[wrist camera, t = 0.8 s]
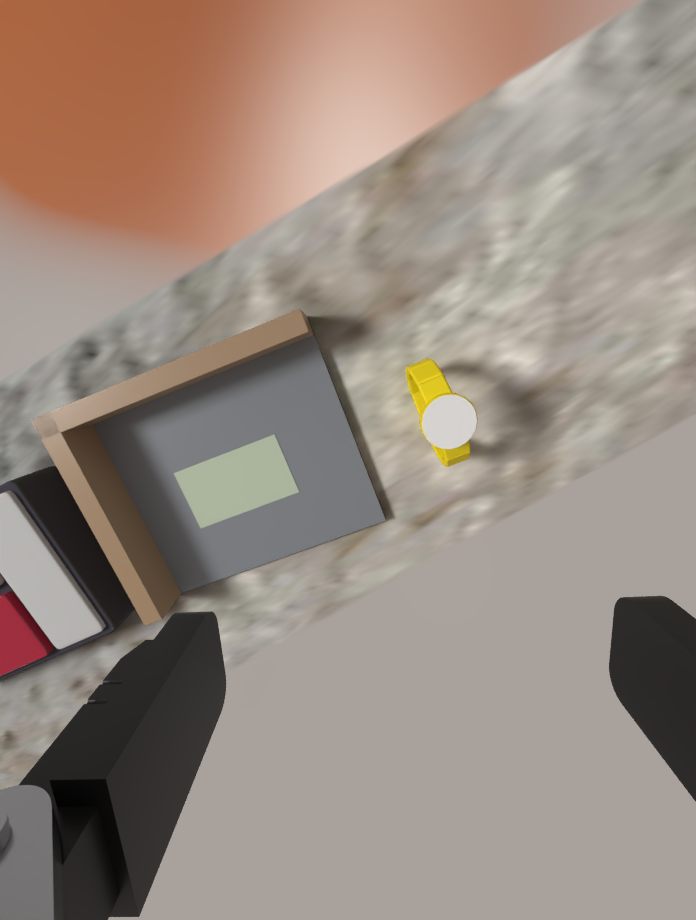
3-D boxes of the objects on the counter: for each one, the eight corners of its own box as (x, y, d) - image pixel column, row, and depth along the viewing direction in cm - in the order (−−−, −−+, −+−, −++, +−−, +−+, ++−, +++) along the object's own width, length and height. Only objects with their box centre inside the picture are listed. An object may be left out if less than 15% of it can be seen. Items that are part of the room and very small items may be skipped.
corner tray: (307, 316, 25) (299, 308, 22) (385, 517, 28) (389, 539, 24) (73, 412, 27) (30, 420, 23) (169, 594, 29) (144, 625, 26)
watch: (463, 439, 27) (495, 468, 21) (422, 456, 27) (444, 488, 22) (432, 351, 25) (458, 356, 20) (389, 369, 26) (403, 379, 20)
